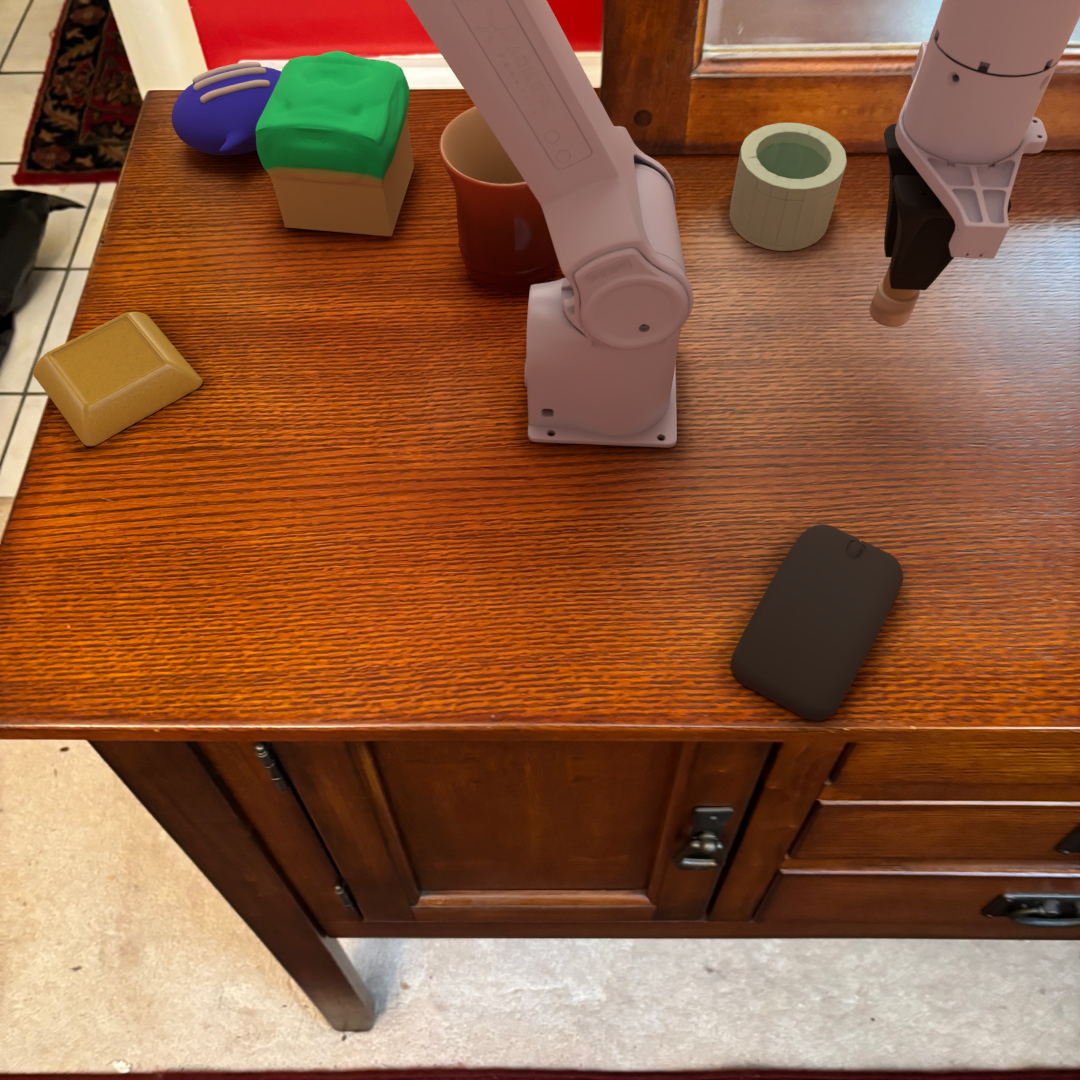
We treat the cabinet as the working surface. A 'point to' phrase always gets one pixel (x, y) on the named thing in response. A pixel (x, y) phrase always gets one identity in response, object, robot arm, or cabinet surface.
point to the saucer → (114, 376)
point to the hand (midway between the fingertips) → (905, 269)
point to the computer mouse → (817, 621)
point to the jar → (786, 185)
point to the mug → (495, 210)
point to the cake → (338, 143)
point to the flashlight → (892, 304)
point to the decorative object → (224, 108)
